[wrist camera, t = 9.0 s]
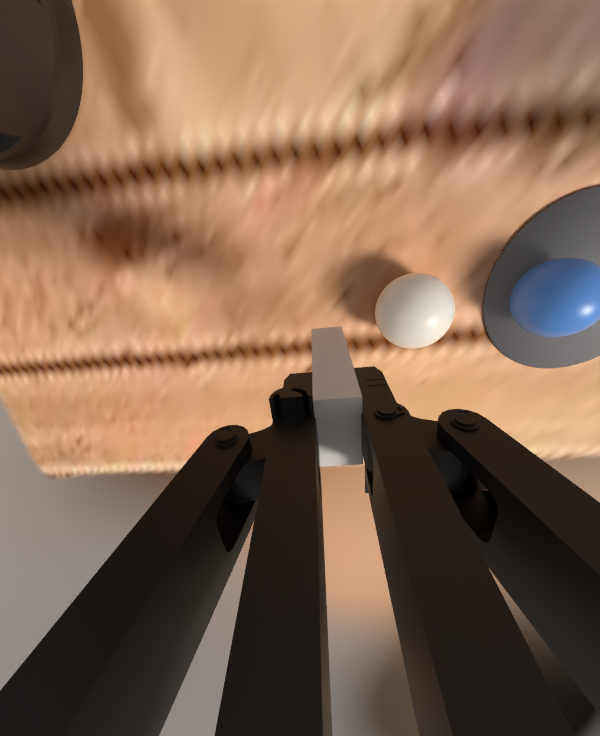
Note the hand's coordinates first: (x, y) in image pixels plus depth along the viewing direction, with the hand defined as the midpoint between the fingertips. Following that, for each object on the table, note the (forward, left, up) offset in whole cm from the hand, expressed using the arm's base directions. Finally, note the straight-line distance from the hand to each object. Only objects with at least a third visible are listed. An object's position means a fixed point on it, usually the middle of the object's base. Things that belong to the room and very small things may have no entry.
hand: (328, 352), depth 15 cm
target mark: (+16, +12, -10) cm, 23 cm away
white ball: (+6, +4, -8) cm, 10 cm away
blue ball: (+13, +10, -8) cm, 18 cm away
